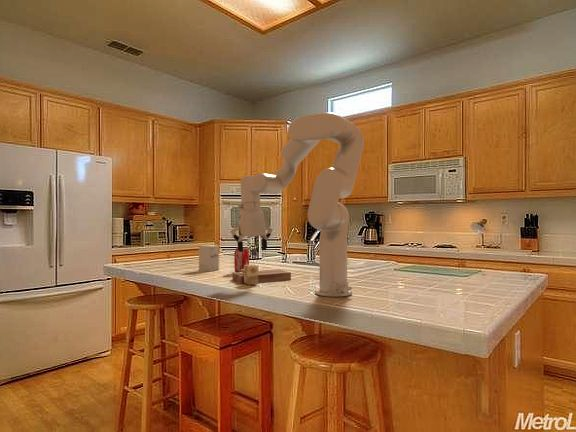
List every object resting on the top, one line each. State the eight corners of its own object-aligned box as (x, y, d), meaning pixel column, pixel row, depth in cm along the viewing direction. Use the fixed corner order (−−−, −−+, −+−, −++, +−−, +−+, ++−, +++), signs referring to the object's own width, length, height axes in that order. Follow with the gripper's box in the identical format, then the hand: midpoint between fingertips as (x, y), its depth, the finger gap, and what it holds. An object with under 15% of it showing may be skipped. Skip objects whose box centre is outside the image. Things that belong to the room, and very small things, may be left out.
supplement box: (210, 271, 182) (210, 246, 182) (198, 271, 185) (198, 245, 185) (219, 270, 189) (219, 245, 189) (207, 269, 192) (207, 244, 192)
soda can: (231, 273, 176) (231, 248, 176) (238, 271, 182) (238, 247, 182) (245, 274, 173) (245, 248, 174) (251, 272, 180) (251, 247, 180)
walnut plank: (290, 279, 157) (290, 272, 157) (241, 283, 147) (241, 276, 147) (279, 275, 168) (279, 269, 168) (232, 279, 158) (232, 272, 158)
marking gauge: (259, 284, 144) (259, 266, 144) (249, 285, 142) (249, 266, 142) (247, 279, 156) (247, 262, 156) (238, 279, 154) (238, 263, 154)
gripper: (232, 207, 139) (234, 252, 139) (274, 206, 147) (276, 249, 146) (227, 208, 146) (228, 251, 145) (267, 207, 153) (269, 249, 153)
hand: (252, 250), depth 146 cm, fingers open, 9 cm apart
